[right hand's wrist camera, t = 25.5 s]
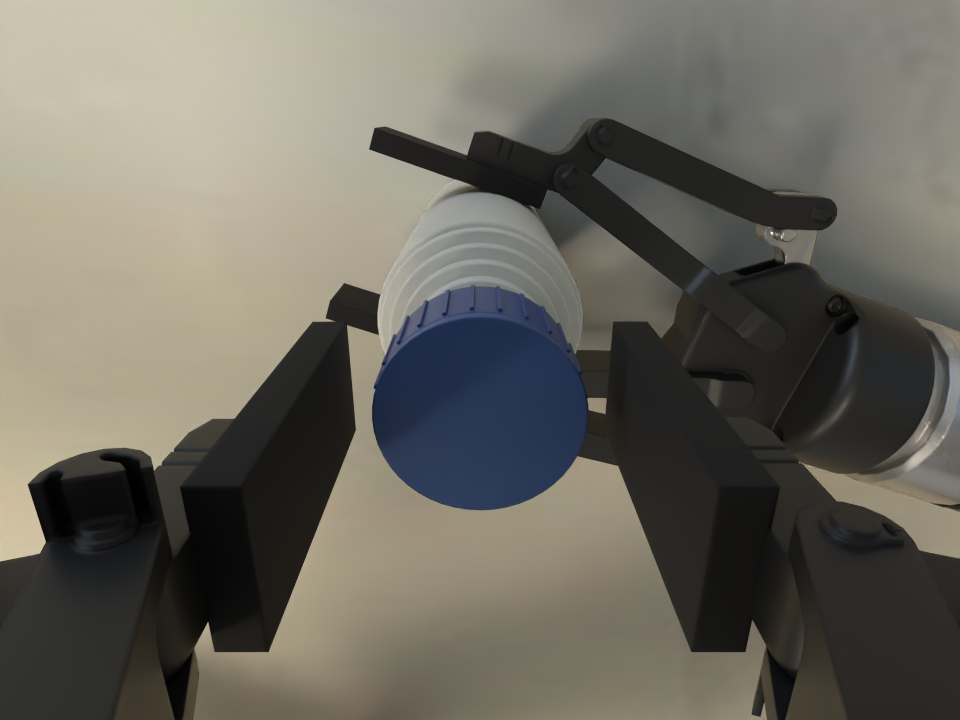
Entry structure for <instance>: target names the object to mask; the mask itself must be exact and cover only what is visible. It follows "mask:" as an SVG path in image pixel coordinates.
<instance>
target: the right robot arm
mask: <svg viewBox="0 0 960 720" xmlns="http://www.w3.org/2000/svg"><path fill="white" fill-rule="evenodd" d="M355 431H356V427H355V415H354V403H353V391H352V379H351V367H350V356H349V344H348V332H347V322H312V323H311V325H310V326H309V327H308V328H307V330H306V331H305V332H304V333H303V335H302V336H301V337H300V338H299V339H298V341H297V342H296V343H295V344H294V346H293V347H292V348H291V349H290V351H289V352H288V353H287V354H286V356H285V357H284V358H283V359H282V361H281V362H280V363H279V364H278V366H277V367H276V368H275V369H274V371H273V372H272V373H271V374H270V376H269V377H268V378H267V379H266V380H265V382H264V383H263V384H262V385H261V387H260V388H259V389H258V390H257V392H256V393H255V394H254V395H253V397H252V398H251V399H250V400H249V402H248V403H247V404H246V405H245V407H244V408H243V409H242V410H241V412H240V413H239V414H238V415H237V417H236V418H235V419H212V420H210V421H209V422H207V423H205V424H203V425H202V426H200V427H198V428H196V429H195V430H193V431H191V432H189V433H188V434H187V435H186V436H185V438H184V439H183V440H182V441H181V442H180V443H179V444H178V445H177V446H176V447H175V449H174V452H171V453H170V454H169V455H168V456H167V457H166V458H165V459H164V461H163V462H162V466H158V467H157V468H156V469H155V470H154V469H153V465H152V461H151V457H150V456H148V455H147V454H145V453H144V452H143V451H140V450H135V449H129V448H113V449H102V450H97V451H92V452H88V453H83V454H79V455H77V456H74V457H71V458H68V459H66V460H63V461H60V462H58V463H56V464H54V465H53V466H51V467H49V468H47V469H46V470H44V471H42V472H40V473H39V474H38V475H37V476H36V477H35V478H34V479H33V480H32V481H31V482H30V483H29V484H28V487H29V490H30V493H31V496H32V499H33V502H34V506H35V509H36V512H37V515H38V518H39V521H40V524H41V528H42V531H43V534H44V537H45V540H46V543H45V545H44V547H43V549H42V551H41V553H40V554H36V555H32V556H27V557H22V558H16V559H11V560H6V561H1V562H0V720H193V717H194V710H195V702H196V694H197V687H198V679H199V670H198V663H197V658H196V654H195V649H194V647H195V645H196V643H197V641H198V639H199V638H200V636H201V634H202V632H203V630H204V628H205V626H206V625H207V623H208V622H209V627H210V632H211V637H212V641H213V646H214V651H215V652H269V650H270V647H271V644H272V642H273V639H274V637H275V634H276V632H277V629H278V627H279V624H280V622H281V619H282V616H283V614H284V611H285V609H286V606H287V604H288V601H289V599H290V596H291V594H292V591H293V588H294V586H295V583H296V581H297V578H298V576H299V573H300V571H301V568H302V566H303V563H304V560H305V558H306V555H307V553H308V550H309V548H310V545H311V543H312V540H313V538H314V535H315V532H316V530H317V527H318V525H319V522H320V520H321V517H322V515H323V512H324V510H325V507H326V504H327V502H328V499H329V497H330V494H331V492H332V489H333V487H334V484H335V482H336V479H337V476H338V474H339V471H340V469H341V466H342V464H343V461H344V459H345V456H346V454H347V451H348V449H349V446H350V443H351V441H352V438H353V436H354V433H355ZM604 431H605V433H606V436H607V438H608V441H609V443H610V446H611V449H612V451H613V454H614V456H615V459H616V461H617V464H618V466H619V469H620V471H621V474H622V477H623V479H624V482H625V484H626V487H627V489H628V492H629V494H630V497H631V499H632V502H633V504H634V507H635V510H636V512H637V515H638V517H639V520H640V522H641V525H642V527H643V530H644V532H645V535H646V538H647V540H648V543H649V545H650V548H651V550H652V553H653V555H654V558H655V560H656V563H657V566H658V568H659V571H660V573H661V576H662V578H663V581H664V583H665V586H666V588H667V591H668V594H669V596H670V599H671V601H672V604H673V606H674V609H675V611H676V614H677V616H678V619H679V622H680V624H681V627H682V629H683V632H684V634H685V637H686V639H687V642H688V644H689V647H690V650H691V652H745V651H746V646H747V641H748V637H749V632H750V627H751V622H752V619H753V621H754V623H755V625H756V627H757V629H758V631H759V632H760V634H761V636H762V638H763V640H764V642H765V644H766V649H765V654H764V658H763V662H762V667H761V671H760V676H759V680H758V684H757V689H756V693H755V698H754V702H753V709H752V715H755V716H759V717H760V716H761V712H762V708H763V704H764V703H765V708H766V716H767V720H960V559H959V558H953V557H948V556H943V555H938V554H933V553H928V552H924V551H920V550H918V548H917V546H916V544H915V542H914V541H913V539H912V538H911V537H910V536H909V535H908V534H907V532H906V531H905V530H904V529H903V528H902V527H900V526H899V525H897V524H896V523H894V522H893V521H892V520H890V519H889V518H887V517H886V516H883V515H881V514H879V513H876V512H874V511H872V510H869V509H867V508H865V507H861V506H857V505H853V504H849V503H845V502H837V501H836V500H835V499H834V498H833V497H832V496H831V495H830V494H829V493H828V491H827V490H826V489H825V488H824V487H823V486H822V485H821V484H820V483H819V482H818V481H817V480H816V478H815V477H814V476H813V475H812V474H811V473H810V472H809V471H808V470H807V469H806V468H805V466H804V465H803V464H802V463H799V462H798V461H799V460H798V459H797V458H796V457H795V456H794V455H793V453H792V452H791V451H790V450H786V446H785V445H784V444H783V443H782V441H781V440H780V439H779V438H778V437H777V436H776V435H775V434H774V433H773V432H772V431H771V430H770V429H768V428H766V427H764V426H762V425H761V424H759V423H757V422H755V421H754V420H752V419H750V418H748V417H723V415H722V414H721V413H720V412H719V410H718V409H717V408H716V407H715V405H714V404H713V403H712V402H711V400H710V399H709V398H708V397H707V395H706V394H705V393H704V392H703V390H702V389H701V388H700V387H699V385H698V384H697V383H696V382H695V381H694V379H693V378H692V377H691V376H690V374H689V373H688V372H687V371H686V369H685V368H684V367H683V366H682V364H681V363H680V362H679V361H678V359H677V358H676V357H675V356H674V354H673V353H672V352H671V351H670V349H669V348H668V347H667V346H666V344H665V343H664V342H663V341H662V339H661V338H660V337H659V336H658V335H657V333H656V332H655V331H654V330H653V328H652V327H651V326H650V325H649V323H648V322H613V332H612V344H611V355H610V367H609V379H608V391H607V403H606V415H605V427H604Z"/></svg>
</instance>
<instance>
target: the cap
mask: <svg viewBox="0 0 960 720" xmlns="http://www.w3.org/2000/svg"><path fill="white" fill-rule="evenodd" d="M582 374H583V373H582V370H581V368H580V365H579V363H578V360H577V358H576V355H575V353H574V350H573V348H572V345H571V343H568V342H567V340H566V337H565V334H564V332H563V329H562V327H561V324H560V323H556V322H555V321H554V319H553V318H552V317H551V316H550V315H549V314H548V313H547V312H546V310H545V307H543V306H541V307H540V306H539V305H537V304H536V303H534V302H533V301H531V300H530V299H528V298H526V297H524V294H522V293H520V294H518V293H515V292H512V291H509V290H505V289H500V286H496V288H495V287H484V286H476V287H475V285H471V287H465V288H460V289H455V290H452V291H450V289H449V290H446V293H443V294H441V295H439V296H437V297H435V298H433V299H431V300H429V301H427V300H425V301H424V303H423V305H422V306H420V307H419V308H418V309H417V310H416V311H415V312H413V313H412V314H411V315H410V316H409V315H407V316H406V318H405V320H404V323H403V325H402V327H401V328H400V330H399V331H398V333H397V335H395V334H394V335H393V337H392V339H391V342H390V344H389V347H388V350H387V352H386V355H385V357H384V360H383V362H382V367H381V369H380V372H379V375H378V377H377V380H376V382H375V385H374V389H376V390H375V393H374V398H373V406H372V421H373V428H374V433H375V437H376V440H377V443H378V446H379V448H380V450H381V452H382V454H383V456H384V458H385V459H386V461H387V463H388V464H389V466H390V467H391V468H392V470H393V471H394V472H395V473H396V474H397V475H398V477H399V478H401V479H402V480H403V481H404V482H405V483H406V484H407V485H408V486H410V487H411V488H412V489H414V490H415V491H417V492H418V493H420V494H422V495H423V496H425V497H427V498H429V499H431V500H434V501H436V502H439V503H441V504H444V505H448V506H451V507H455V508H461V509H468V510H492V509H499V508H505V507H509V506H513V505H516V504H520V503H522V502H524V501H527V500H529V499H532V498H533V497H535V496H537V495H539V494H541V493H542V492H544V491H545V490H547V489H548V488H549V487H551V486H552V485H553V484H555V483H556V482H557V481H558V480H559V479H560V478H561V477H562V476H563V475H564V474H565V472H566V471H567V470H568V469H569V468H570V466H571V465H572V463H573V462H574V460H575V459H576V457H577V455H578V453H579V451H580V449H581V447H582V444H583V442H584V438H585V435H586V431H587V424H588V402H587V399H588V395H587V392H586V390H585V387H584V384H583V382H582V379H581V376H580V375H582Z"/></svg>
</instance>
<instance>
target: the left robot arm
mask: <svg viewBox="0 0 960 720" xmlns="http://www.w3.org/2000/svg"><path fill="white" fill-rule="evenodd" d="M369 149H370V150H373V151H375V152H378V153H381V154H384V155H387V156H390V157H393V158H395V159H398V160H401V161H404V162H407V163H410V164H413V165H415V166H418V167H421V168H424V169H427V170H430V171H433V172H435V173H438V174H441V175H444V176H447V177H450V178H453V179H455V180H458V181H461V182H464V183H467V184H470V185H473V186H475V187H478V188H481V189H484V190H487V191H490V192H493V193H495V194H498V195H501V196H504V197H507V198H510V199H513V200H515V201H518V202H521V203H524V204H527V205H530V206H533V207H535V208H538V209H540V208H541V205H542V202H543V199H544V197H545V194H546V191H547V189H548V190H551V191H554V192H557V193H559V194H560V195H561V196H563V197H564V198H565V199H567V200H568V201H569V202H570V203H572V204H573V205H574V206H576V207H577V208H578V209H579V210H581V211H582V212H583V213H585V214H586V215H587V216H588V217H590V218H591V219H592V220H594V221H595V222H596V223H598V224H599V225H600V226H601V227H603V228H604V229H605V230H607V231H608V232H609V233H610V234H612V235H613V236H614V237H616V238H617V239H618V240H619V241H621V242H622V243H623V244H625V245H626V246H627V247H628V248H630V249H631V250H632V251H634V252H635V253H636V254H637V255H639V256H640V257H641V258H643V259H644V260H645V261H646V262H648V263H649V264H650V265H652V266H653V267H654V268H655V269H657V270H658V271H659V272H661V273H662V274H663V275H665V276H666V277H667V278H668V279H670V280H671V281H672V282H674V283H675V284H676V285H677V286H679V287H680V288H681V289H683V290H684V292H683V294H682V296H681V299H680V301H679V303H678V305H677V309H676V314H675V319H674V324H673V325H672V326H671V328H670V329H669V330H668V331H667V332H666V334H665V335H664V336H663V337H662V341H663V342H664V343H665V344H666V346H667V347H668V348H669V349H670V351H671V352H672V353H673V354H674V356H675V357H676V358H677V359H678V361H679V362H680V363H681V364H682V366H683V367H684V368H685V369H686V371H687V372H688V373H689V374H690V376H691V377H692V378H693V379H694V381H695V382H696V383H697V384H698V385H699V387H700V388H701V389H702V390H703V392H704V393H705V394H706V395H707V397H708V398H709V399H710V400H711V402H712V403H713V404H714V405H715V407H716V408H717V409H718V410H719V412H720V413H721V414H722V415H723V417H748V418H750V419H752V420H754V421H755V422H757V423H759V424H761V425H762V426H764V427H766V428H768V429H770V430H771V431H772V432H773V433H774V434H775V435H776V436H777V437H778V438H779V439H780V440H781V441H782V443H783V444H784V445H785V446H786V450H790V451H791V452H792V453H793V455H794V456H795V457H796V458H797V459H798V460H799V461H798V462H801V463H804V464H808V465H811V466H814V467H817V468H820V469H823V470H827V471H830V472H834V473H838V474H845V475H846V476H848V477H850V478H852V479H854V480H857V481H860V482H864V483H867V484H870V485H874V486H877V487H880V488H884V489H887V490H890V491H894V492H897V493H900V494H904V495H907V496H911V497H914V498H917V499H921V500H924V501H927V502H930V503H932V504H935V505H938V506H941V507H947V508H950V509H953V510H956V511H958V512H960V331H957V330H954V329H951V328H948V327H946V326H943V325H940V324H937V323H935V322H932V321H928V320H925V319H921V318H918V317H913V316H911V315H909V314H908V313H906V312H903V311H901V310H898V309H895V308H892V307H890V306H887V305H884V304H881V303H878V302H876V301H873V300H870V299H867V298H864V297H862V296H859V295H856V294H853V293H850V292H848V291H845V290H842V289H839V288H836V287H833V286H831V285H828V284H827V283H826V282H825V281H824V280H823V279H822V278H821V276H820V275H819V273H818V272H817V271H816V270H815V269H814V268H813V267H811V266H809V265H810V261H811V257H812V252H813V248H814V244H815V240H816V236H817V232H818V230H823V229H825V228H827V227H829V226H830V225H831V224H832V223H833V222H834V220H835V218H836V216H837V207H836V205H835V203H834V202H833V201H832V200H831V199H827V198H823V197H819V196H816V195H812V194H808V193H803V192H799V191H795V190H774V189H764V188H761V187H759V186H757V185H755V184H753V183H750V182H748V181H746V180H744V179H742V178H739V177H737V176H735V175H733V174H731V173H728V172H726V171H724V170H722V169H720V168H717V167H715V166H713V165H711V164H709V163H707V162H704V161H702V160H700V159H698V158H696V157H693V156H691V155H689V154H687V153H685V152H682V151H680V150H678V149H676V148H674V147H671V146H669V145H667V144H665V143H663V142H660V141H658V140H656V139H654V138H652V137H650V136H647V135H645V134H643V133H641V132H639V131H636V130H634V129H632V128H630V127H628V126H625V125H623V124H621V123H619V122H617V121H614V120H611V119H606V118H593V119H589V120H587V121H586V122H584V123H583V125H582V126H581V128H580V131H579V132H578V133H577V134H576V136H575V137H574V138H573V139H572V141H571V142H570V143H569V144H568V145H567V146H566V147H565V148H564V149H562V150H561V151H558V152H552V153H550V152H545V151H542V150H540V149H537V148H534V147H531V146H529V145H526V144H523V143H520V142H518V141H515V140H512V139H509V138H507V137H504V136H501V135H498V134H496V133H493V132H490V131H481V132H475V133H474V136H473V139H472V142H471V145H470V148H469V152H468V155H464V154H461V153H459V152H456V151H453V150H450V149H447V148H444V147H442V146H439V145H436V144H433V143H430V142H428V141H425V140H422V139H419V138H416V137H414V136H411V135H408V134H405V133H402V132H399V131H397V130H394V129H391V128H388V127H379V128H375V129H374V133H373V136H372V140H371V144H370V148H369ZM605 158H607V159H610V160H612V161H614V162H616V163H619V164H621V165H623V166H625V167H627V168H630V169H632V170H634V171H636V172H639V173H641V174H643V175H645V176H648V177H650V178H652V179H654V180H657V181H659V182H661V183H663V184H666V185H668V186H670V187H672V188H675V189H677V190H679V191H681V192H684V193H686V194H688V195H690V196H693V197H695V198H697V199H699V200H702V201H704V202H706V203H708V204H711V205H713V206H715V207H717V208H720V209H722V210H724V211H726V212H729V213H731V214H734V215H736V216H739V217H741V218H744V219H746V220H749V221H751V222H754V223H756V224H755V233H756V236H757V238H758V239H760V240H761V241H763V242H765V243H767V244H769V245H772V246H773V248H774V250H775V258H774V259H771V260H767V261H764V262H761V263H757V264H754V265H750V266H747V267H743V268H740V269H737V270H733V271H730V272H726V273H723V274H719V275H717V274H715V273H714V272H713V271H712V270H710V269H709V268H707V267H706V266H705V265H704V264H702V263H701V262H700V261H698V260H697V259H696V258H695V257H693V256H692V255H691V254H690V253H688V252H687V251H686V250H685V249H683V248H682V247H681V246H680V245H678V244H677V243H676V242H675V241H673V240H672V239H671V238H670V237H668V236H667V235H666V234H665V233H663V232H662V231H661V230H660V229H658V228H657V227H656V226H655V225H653V224H652V223H651V222H649V221H648V220H647V219H646V218H644V217H643V216H642V215H641V214H639V213H638V212H637V211H636V210H634V209H633V208H632V207H631V206H629V205H628V204H627V203H626V202H624V201H623V200H622V199H621V198H619V197H618V196H617V195H616V194H614V193H613V192H612V191H611V190H609V189H608V188H607V187H606V186H604V185H603V184H602V183H600V182H599V181H598V180H597V179H595V178H594V177H593V176H592V174H593V173H594V172H595V170H596V169H597V168H598V167H599V166H600V164H601V163H602V162H603V161H604V160H605ZM379 298H380V294H376V293H373V292H370V291H367V290H364V289H361V288H358V287H355V286H351V285H348V284H345V283H344V284H343V286H342V287H341V288H340V289H339V291H338V292H337V293H336V294H335V296H334V297H333V298H332V299H331V300H330V304H329V307H328V311H327V315H326V319H330V320H333V321H336V322H347V325H349V326H352V327H355V328H358V329H362V330H365V331H368V332H371V333H374V334H378V335H379V331H378V305H379ZM575 355H576V358H577V360H578V363H579V365H580V368H581V370H582V373H583V374H582V375H580V376H581V379H582V382H583V384H584V387H585V390H586V392H587V395H588V398H607V391H608V379H609V367H610V355H611V351H597V350H577V351H576V354H575ZM605 415H606V414H602V413H598V412H594V411H590V410H588V424H587V431H586V435H585V438H584V442H583V444H582V447H581V449H580V451H579V453H578V455H577V456H579V457H583V458H588V459H592V460H596V461H600V462H604V463H609V464H613V465H617V466H618V464H617V461H616V459H615V456H614V454H613V451H612V449H611V446H610V443H609V441H608V438H607V436H606V433H605V431H604V427H605Z"/></svg>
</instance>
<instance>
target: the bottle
mask: <svg viewBox="0 0 960 720" xmlns="http://www.w3.org/2000/svg"><path fill="white" fill-rule="evenodd" d="M471 285H475V287H476V286H484V287H495V288H496V286H500V289H505V290H509V291H512V292H515V293H518V294H520V293H522V294H524V297H526V298H528V299H530V300H531V301H533V302H534V303H536V304H537V305H539V306H540V307H541V306H543V307H545V310H546V312H547V313H548V314H549V315H550V316H551V317H552V318H553V319H554V321H555V322H556V323H560V324H561V327H562V329H563V332H564V334H565V337H566V340H567V342H568V343H571V345H572V348H573V350H574V353H575V354H576V351H577V349H578V346H579V342H580V338H581V334H582V325H583V309H582V303H581V297H580V293H579V290H578V287H577V284H576V282H575V280H574V277H573V275H572V273H571V271H570V269H569V268H568V266H567V264H566V263H565V261H564V259H563V257H562V256H561V254H560V252H559V250H558V249H557V247H556V245H555V243H554V242H553V240H552V238H551V236H550V235H549V233H548V231H547V230H546V228H545V226H544V224H543V223H542V221H541V219H540V217H539V216H538V214H537V212H536V210H535V209H534V207H533V206H530V205H527V204H524V203H521V202H518V201H515V200H513V199H510V198H507V197H504V196H501V195H498V194H495V193H493V192H490V191H487V190H484V189H481V188H478V187H475V186H473V185H470V184H467V183H464V182H461V181H458V180H455V179H454V180H452V181H450V182H448V183H447V184H446V185H444V186H443V187H442V188H441V189H440V190H439V191H438V192H437V193H436V194H435V195H434V196H433V198H432V199H431V201H430V202H429V204H428V206H427V207H426V209H425V211H424V213H423V214H422V216H421V218H420V220H419V221H418V223H417V225H416V227H415V228H414V230H413V232H412V234H411V235H410V237H409V239H408V241H407V242H406V244H405V246H404V248H403V249H402V251H401V253H400V255H399V256H398V258H397V260H396V262H395V263H394V265H393V267H392V268H391V270H390V272H389V274H388V276H387V278H386V280H385V283H384V285H383V288H382V291H381V295H380V298H379V305H378V331H379V338H380V341H381V345H382V348H383V351H384V353H385V355H386V352H387V350H388V347H389V344H390V342H391V339H392V337H393V335H394V334H395V335H397V333H398V331H399V330H400V328H401V327H402V325H403V323H404V320H405V318H406V316H407V315H409V316H410V315H411V314H412V313H413V312H415V311H416V310H417V309H418V308H419V307H420V306H422V305H423V303H424V301H425V300H427V301H429V300H431V299H433V298H435V297H437V296H439V295H441V294H443V293H446V290H449V289H450V291H452V290H455V289H460V288H465V287H471Z"/></svg>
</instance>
